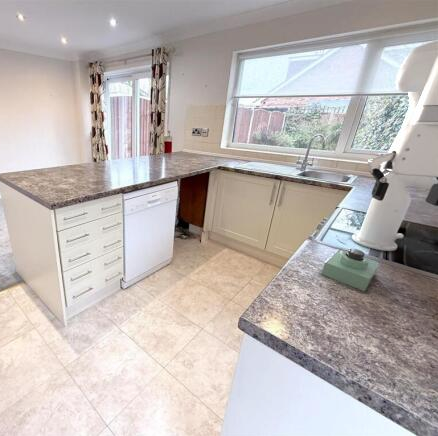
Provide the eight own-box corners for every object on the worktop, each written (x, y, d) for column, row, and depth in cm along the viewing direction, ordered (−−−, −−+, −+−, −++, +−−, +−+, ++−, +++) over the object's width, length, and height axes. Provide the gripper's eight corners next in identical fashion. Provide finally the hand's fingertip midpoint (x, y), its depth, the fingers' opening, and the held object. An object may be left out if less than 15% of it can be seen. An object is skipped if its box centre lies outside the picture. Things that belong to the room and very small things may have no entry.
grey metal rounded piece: (348, 253, 72) (350, 247, 71) (363, 258, 69) (366, 252, 68) (344, 257, 70) (347, 251, 69) (360, 262, 67) (363, 256, 66)
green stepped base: (334, 260, 79) (340, 243, 76) (374, 274, 71) (382, 257, 69) (321, 273, 71) (327, 256, 69) (364, 291, 64) (372, 272, 62)
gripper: (483, 117, 48) (441, 200, 55) (376, 116, 53) (349, 192, 59) (522, 117, 41) (470, 212, 48) (396, 116, 46) (364, 202, 53)
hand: (403, 201), depth 54 cm, fingers open, 9 cm apart
